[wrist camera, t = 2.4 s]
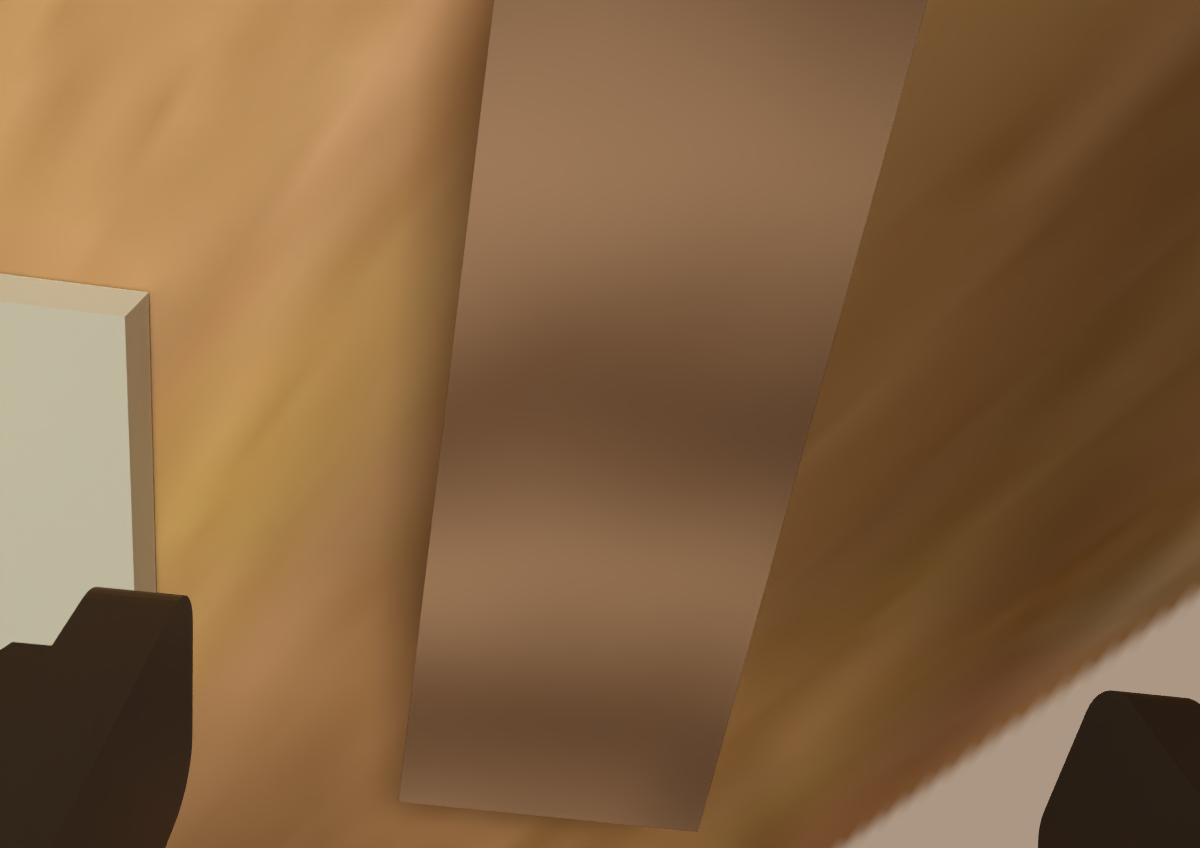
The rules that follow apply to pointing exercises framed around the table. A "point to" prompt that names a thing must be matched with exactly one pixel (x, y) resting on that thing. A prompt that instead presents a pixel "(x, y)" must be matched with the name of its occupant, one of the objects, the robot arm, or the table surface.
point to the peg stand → (72, 450)
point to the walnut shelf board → (635, 384)
